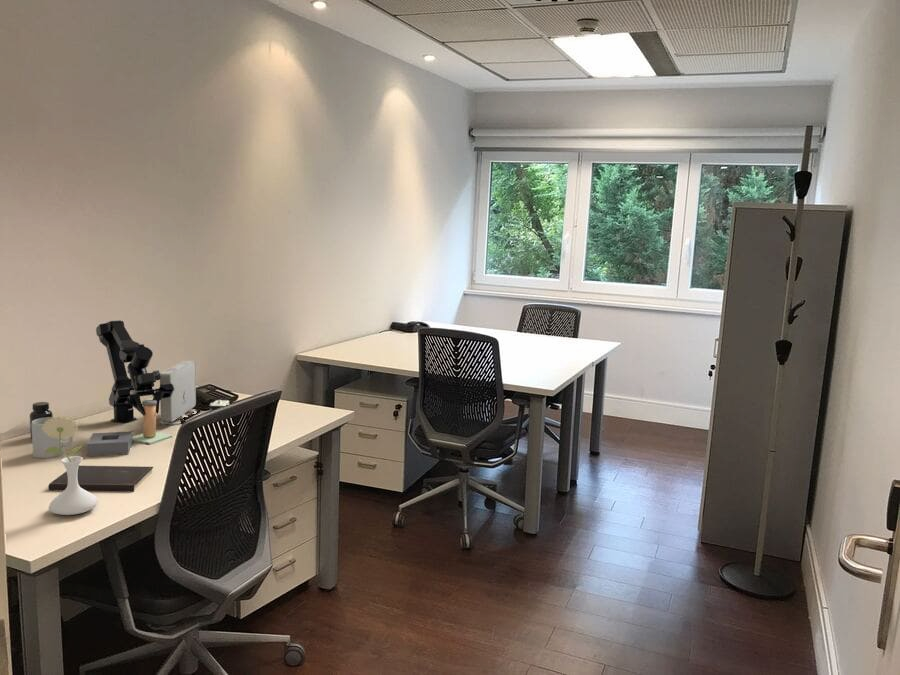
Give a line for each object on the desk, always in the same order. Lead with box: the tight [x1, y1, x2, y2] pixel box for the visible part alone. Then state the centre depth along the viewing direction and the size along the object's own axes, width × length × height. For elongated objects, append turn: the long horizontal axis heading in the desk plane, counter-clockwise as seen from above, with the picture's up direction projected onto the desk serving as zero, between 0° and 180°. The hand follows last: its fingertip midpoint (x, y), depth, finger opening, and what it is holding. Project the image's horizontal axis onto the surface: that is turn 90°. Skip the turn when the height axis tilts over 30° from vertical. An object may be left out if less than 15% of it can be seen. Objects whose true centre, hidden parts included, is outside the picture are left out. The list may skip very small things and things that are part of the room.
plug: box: [141, 399, 157, 437], centre depth 248 cm, size 5×5×12 cm
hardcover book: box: [48, 465, 154, 493], centre depth 209 cm, size 16×23×2 cm
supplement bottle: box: [29, 401, 54, 440], centre depth 245 cm, size 7×7×12 cm
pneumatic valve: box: [208, 399, 230, 411], centre depth 259 cm, size 6×12×12 cm, turn 3°
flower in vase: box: [42, 416, 99, 516], centre depth 186 cm, size 13×11×25 cm
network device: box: [159, 360, 198, 426], centre depth 275 cm, size 26×9×20 cm, turn 179°
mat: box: [133, 431, 173, 445], centre depth 250 cm, size 10×10×1 cm
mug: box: [31, 416, 74, 459], centre depth 229 cm, size 12×8×11 cm
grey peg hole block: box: [86, 431, 134, 457], centre depth 236 cm, size 12×12×4 cm
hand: (151, 414), depth 247 cm, fingers closed on plug, 4 cm apart
